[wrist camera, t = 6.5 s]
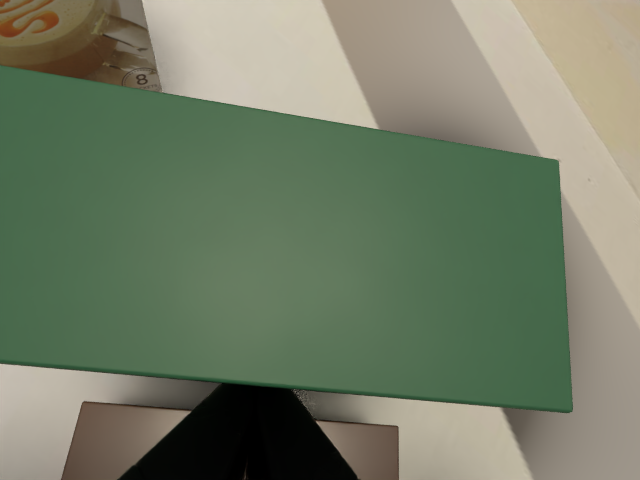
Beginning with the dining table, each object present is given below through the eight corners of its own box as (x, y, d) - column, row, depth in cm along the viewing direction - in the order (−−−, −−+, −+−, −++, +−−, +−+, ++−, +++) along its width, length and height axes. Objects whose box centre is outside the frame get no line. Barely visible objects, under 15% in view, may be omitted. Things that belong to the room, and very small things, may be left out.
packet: (358, 370, 18) (578, 417, 6) (142, 349, 17) (-137, 357, 5) (364, 277, 20) (563, 156, 7) (162, 253, 18) (-27, 55, 6)
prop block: (364, 538, 16) (399, 573, 12) (87, 526, 15) (37, 562, 11) (366, 424, 18) (399, 425, 14) (117, 404, 16) (82, 401, 13)
